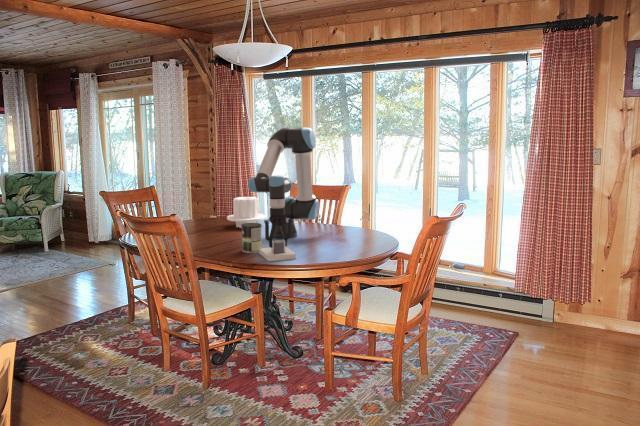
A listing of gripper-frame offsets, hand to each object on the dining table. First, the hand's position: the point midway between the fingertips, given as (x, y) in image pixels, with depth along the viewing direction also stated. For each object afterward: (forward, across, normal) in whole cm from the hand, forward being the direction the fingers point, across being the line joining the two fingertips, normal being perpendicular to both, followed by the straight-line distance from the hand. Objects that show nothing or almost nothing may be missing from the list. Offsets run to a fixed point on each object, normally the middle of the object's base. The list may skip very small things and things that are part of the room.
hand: (278, 253), depth 261 cm
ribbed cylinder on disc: (+2, +4, +87) cm, 87 cm away
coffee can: (+2, -9, +18) cm, 20 cm away
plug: (+2, 0, 0) cm, 2 cm away
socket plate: (+2, 0, +2) cm, 3 cm away
